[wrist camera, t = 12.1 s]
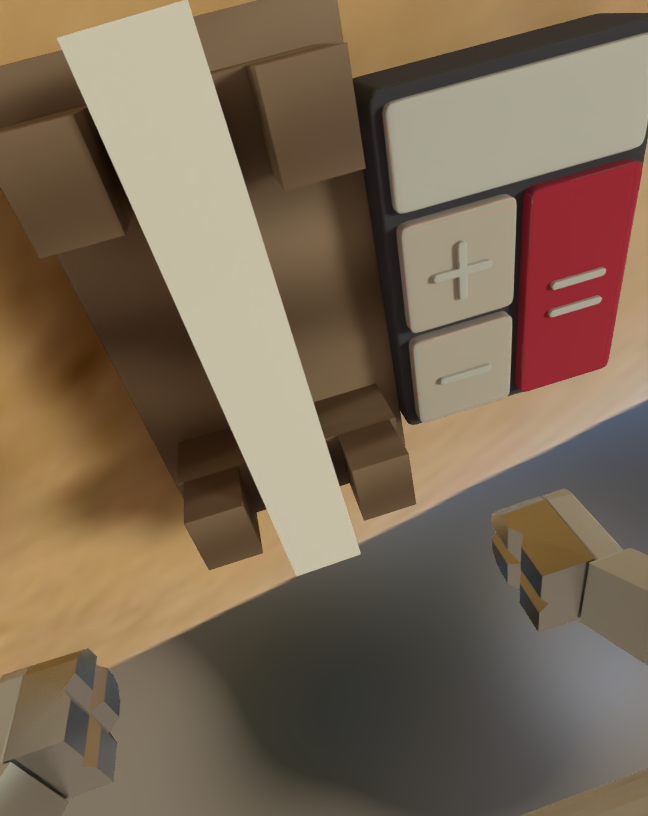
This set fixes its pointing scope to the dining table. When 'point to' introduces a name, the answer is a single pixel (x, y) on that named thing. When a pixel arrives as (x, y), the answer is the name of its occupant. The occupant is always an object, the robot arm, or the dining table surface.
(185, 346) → the rack
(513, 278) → the calculator
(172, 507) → the dining table surface
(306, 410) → the clay strip
